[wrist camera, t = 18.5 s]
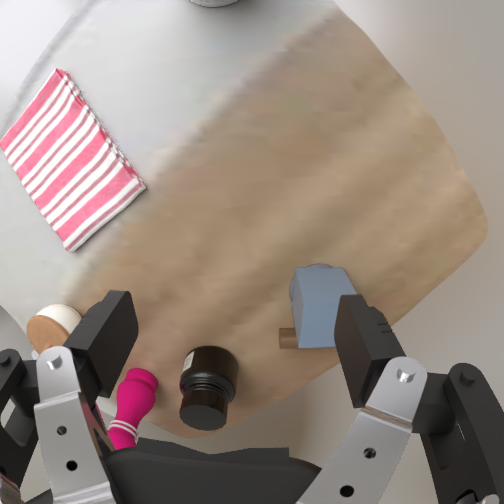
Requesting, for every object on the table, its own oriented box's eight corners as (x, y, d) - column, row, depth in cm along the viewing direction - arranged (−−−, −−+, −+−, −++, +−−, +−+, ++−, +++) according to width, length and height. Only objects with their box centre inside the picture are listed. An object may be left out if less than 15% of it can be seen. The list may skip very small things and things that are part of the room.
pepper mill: (139, 393, 53) (111, 474, 34) (118, 369, 50) (81, 451, 32) (167, 388, 52) (143, 476, 33) (146, 363, 49) (112, 454, 31)
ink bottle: (178, 344, 47) (162, 398, 36) (230, 339, 46) (224, 396, 35) (195, 383, 51) (185, 435, 40) (242, 379, 50) (240, 434, 39)
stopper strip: (279, 328, 45) (280, 338, 43) (342, 326, 45) (345, 336, 43) (278, 338, 46) (279, 348, 44) (340, 336, 46) (343, 346, 44)
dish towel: (67, 65, 30) (54, 62, 27) (151, 186, 37) (142, 192, 34) (6, 143, 34) (-7, 146, 31) (77, 252, 41) (66, 261, 38)
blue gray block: (295, 267, 41) (303, 302, 33) (342, 267, 41) (360, 301, 33) (291, 309, 44) (298, 348, 36) (336, 308, 44) (350, 345, 36)
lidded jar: (48, 327, 47) (24, 356, 38) (47, 284, 43) (18, 313, 35) (93, 350, 49) (73, 384, 40) (97, 309, 45) (72, 343, 36)
